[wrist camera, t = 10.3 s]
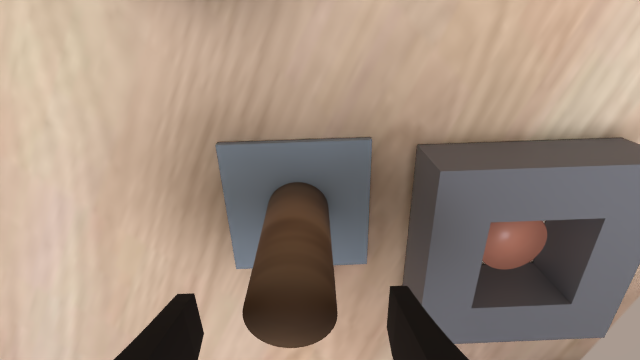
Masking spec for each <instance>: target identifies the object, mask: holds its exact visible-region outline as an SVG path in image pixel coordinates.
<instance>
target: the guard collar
mask: <svg viewBox="0 0 640 360" xmlns="http://www.w3.org/2000/svg"><path fill="white" fill-rule="evenodd" d="M545 220H546V222H545V227H546V229H547V240H546V243H545V245H544V247H543V249H542V250H541V252H540V253H539V254H538V255H537V256H536V257H535V258H534V261H533V263H526V264H524V265H522V266H520V267H517V268H513V269H496V268H492V267H490V266H488V265H487V264H484V265H481V264H482V259H483V255H484V251H485V246H486V242H487V237H488V233H489V229H490V224H491V222H518V221H545ZM639 264H640V144H637V143H634V142H632V141H629V140H626V139H624V138H600V139H571V140H542V141H512V142H483V143H454V144H425V145H417V153H416V162H415V172H414V182H413V191H412V201H411V211H410V220H409V230H408V240H407V249H406V259H405V269H404V278H403V286H408V287H409V288H410V290H411V291H412V293H413V294H414V295H415V297H416V298H417V299H418V301H419V302H420V304H421V305H422V306H423V307H424V309H425V310H426V311H427V313H428V314H429V315H430V316H431V318H432V319H433V320H434V321H435V323H436V324H437V325H438V326H439V327H440V329H441V330H442V331H443V332H444V333H445V334H446V336H447V337H448V338H449V339H450V340H451V341H452V342H453V344H463V343H487V342H511V341H534V340H558V339H581V338H604V337H605V335H606V333H607V331H608V329H609V327H610V325H611V322H612V320H613V318H614V316H615V314H616V312H617V310H618V308H619V306H620V304H621V302H622V300H623V297H624V295H625V293H626V291H627V289H628V287H629V285H630V283H631V281H632V279H633V277H634V275H635V272H636V270H637V268H638V266H639Z"/></svg>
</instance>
